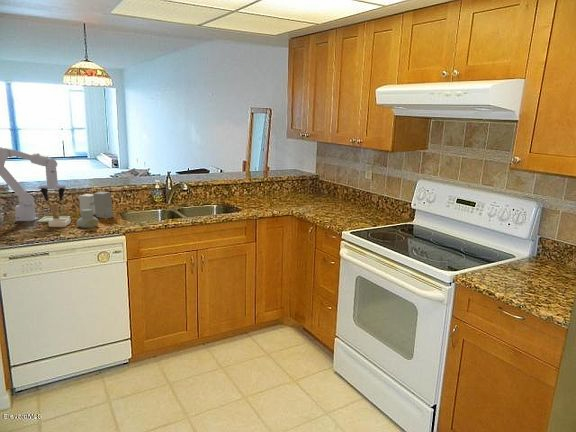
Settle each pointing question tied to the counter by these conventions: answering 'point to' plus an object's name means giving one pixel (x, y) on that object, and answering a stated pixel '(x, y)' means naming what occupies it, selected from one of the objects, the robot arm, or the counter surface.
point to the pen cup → (59, 222)
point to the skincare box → (103, 204)
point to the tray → (49, 218)
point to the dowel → (55, 211)
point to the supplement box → (87, 202)
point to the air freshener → (87, 219)
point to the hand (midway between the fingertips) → (53, 200)
